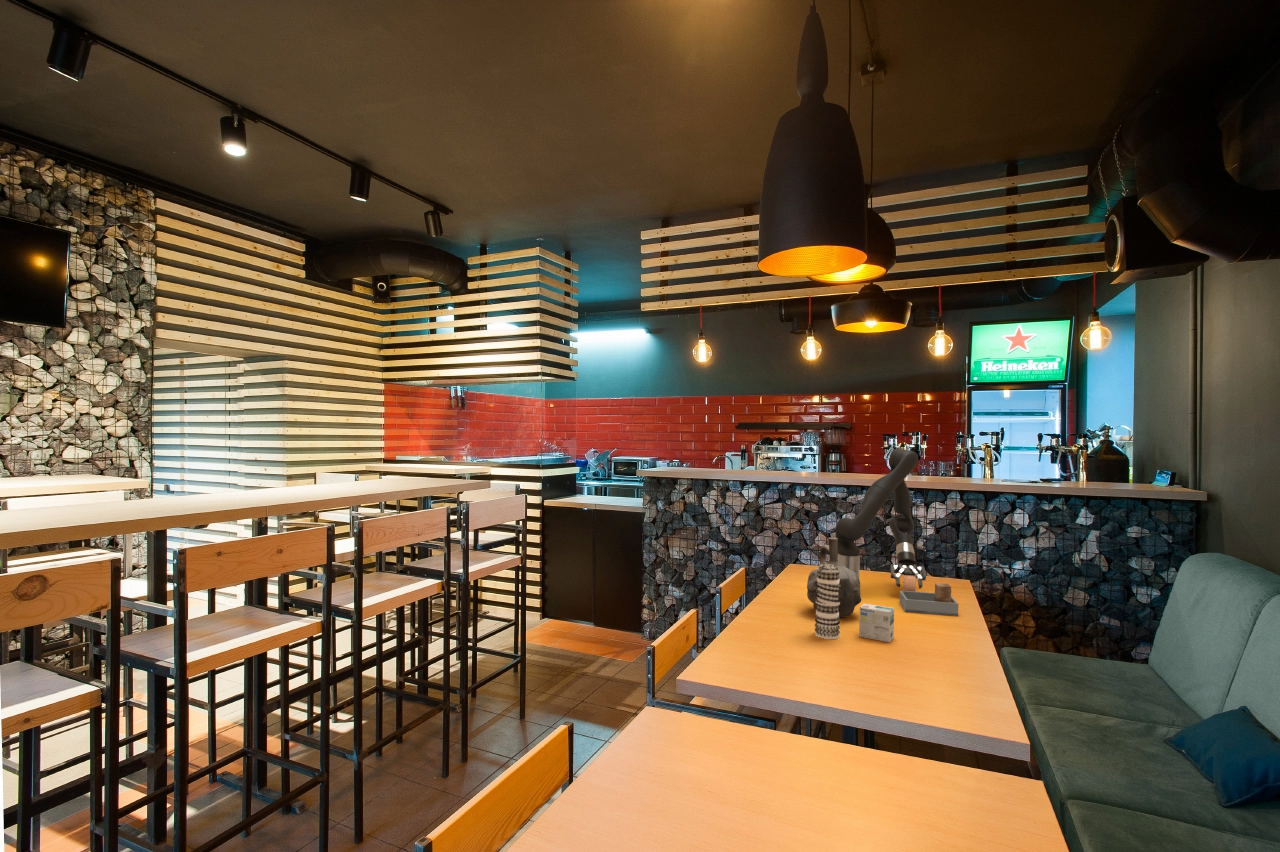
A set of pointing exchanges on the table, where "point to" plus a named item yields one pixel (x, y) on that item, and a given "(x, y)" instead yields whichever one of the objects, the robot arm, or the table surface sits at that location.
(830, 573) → the black white tall cylinder
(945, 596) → the walnut block
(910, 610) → the tote
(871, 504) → the robot arm
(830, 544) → the vessel
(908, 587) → the terracotta cylinder
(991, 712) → the table surface
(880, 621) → the light bulb box
